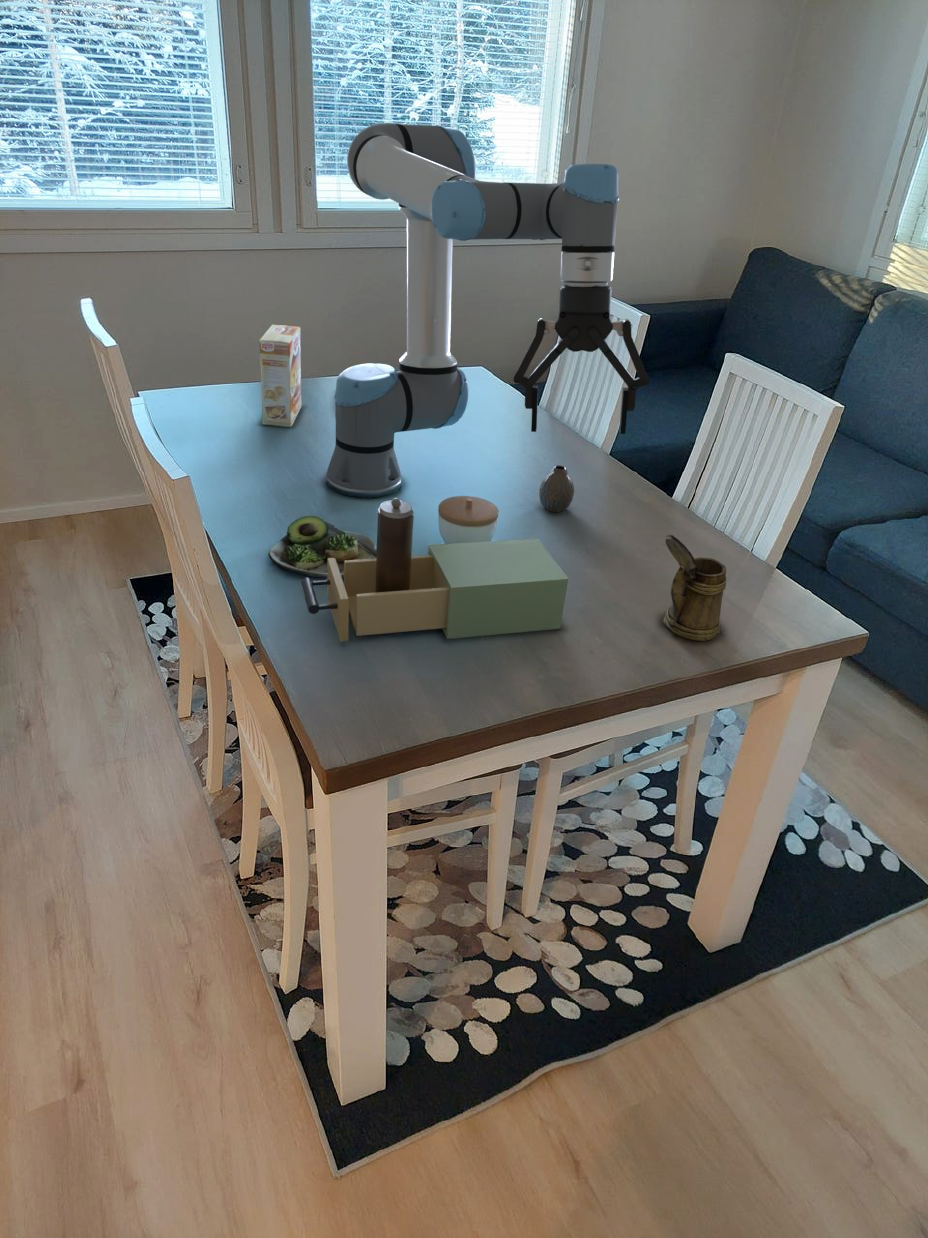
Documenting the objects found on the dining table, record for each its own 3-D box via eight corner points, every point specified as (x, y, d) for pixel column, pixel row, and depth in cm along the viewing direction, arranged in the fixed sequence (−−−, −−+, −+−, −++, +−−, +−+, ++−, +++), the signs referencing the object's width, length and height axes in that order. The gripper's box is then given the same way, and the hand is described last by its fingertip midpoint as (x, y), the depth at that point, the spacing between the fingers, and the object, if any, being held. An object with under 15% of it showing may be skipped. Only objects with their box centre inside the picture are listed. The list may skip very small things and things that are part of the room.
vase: (569, 517, 172) (576, 476, 167) (535, 512, 173) (540, 471, 168) (572, 503, 178) (579, 463, 173) (539, 498, 178) (545, 458, 174)
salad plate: (403, 547, 155) (404, 524, 153) (364, 593, 141) (364, 568, 138) (305, 525, 159) (304, 502, 157) (257, 568, 145) (255, 543, 142)
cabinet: (447, 639, 131) (451, 587, 127) (425, 593, 142) (428, 544, 137) (560, 628, 137) (568, 578, 132) (530, 585, 147) (537, 538, 143)
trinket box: (501, 541, 161) (506, 494, 156) (483, 566, 152) (489, 517, 147) (447, 528, 163) (451, 482, 158) (427, 552, 154) (430, 504, 149)
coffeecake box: (291, 427, 201) (289, 342, 191) (261, 425, 201) (257, 339, 191) (302, 406, 214) (301, 326, 203) (274, 404, 214) (271, 323, 203)
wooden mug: (630, 622, 140) (652, 522, 130) (694, 607, 146) (719, 510, 136) (665, 652, 133) (690, 548, 124) (730, 634, 139) (760, 535, 130)
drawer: (310, 644, 126) (310, 601, 122) (299, 600, 136) (299, 559, 132) (454, 631, 132) (458, 590, 128) (434, 590, 142) (437, 551, 138)
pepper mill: (371, 601, 135) (375, 491, 125) (404, 598, 137) (409, 490, 127) (378, 618, 131) (382, 506, 121) (411, 616, 132) (418, 505, 122)
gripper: (498, 285, 123) (495, 434, 132) (676, 286, 121) (662, 438, 129) (501, 282, 130) (499, 424, 139) (670, 283, 127) (657, 427, 136)
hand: (577, 431), depth 134 cm, fingers open, 13 cm apart
